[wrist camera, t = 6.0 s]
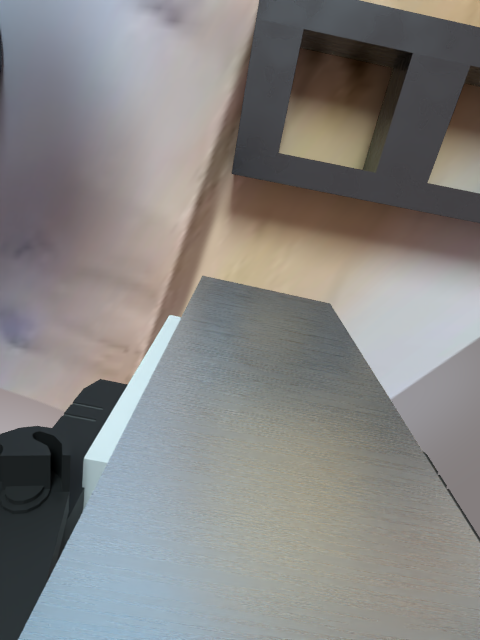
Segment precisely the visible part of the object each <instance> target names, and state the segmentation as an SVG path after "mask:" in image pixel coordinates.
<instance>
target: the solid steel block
mask: <svg viewBox="0 0 480 640" xmlns="http://www.w3.org/2000/svg"><path fill="white" fill-rule="evenodd" d="M18 640H480V542H479V540H478V539H477V537H476V535H475V534H474V532H473V531H472V529H471V527H470V526H469V524H468V523H467V521H466V519H465V518H464V516H463V515H462V513H461V511H460V510H459V508H458V507H457V505H456V504H455V502H454V500H453V499H452V497H451V496H450V494H449V492H448V491H447V489H446V488H445V486H444V484H443V483H442V481H441V480H440V478H439V476H438V475H437V473H436V472H435V470H434V469H433V467H432V465H431V464H430V462H429V461H428V459H427V457H426V456H425V454H424V453H423V451H422V449H421V448H420V446H419V445H418V443H417V441H416V440H415V438H414V437H413V435H412V433H411V432H410V430H409V429H408V427H407V426H406V424H405V422H404V421H403V419H402V418H401V416H400V414H399V413H398V411H397V410H396V408H395V406H394V405H393V403H392V402H391V400H390V398H389V397H388V395H387V394H386V392H385V390H384V389H383V387H382V386H381V384H380V383H379V381H378V379H377V378H376V376H375V375H374V373H373V371H372V370H371V368H370V367H369V365H368V363H367V362H366V360H365V359H364V357H363V355H362V354H361V352H360V351H359V349H358V347H357V346H356V344H355V343H354V341H353V340H352V338H351V336H350V335H349V333H348V332H347V330H346V328H345V327H344V325H343V324H342V322H341V320H340V319H339V317H338V316H337V314H336V312H335V311H334V309H333V308H332V306H331V304H330V303H325V302H321V301H316V300H311V299H307V298H302V297H298V296H293V295H289V294H284V293H279V292H275V291H270V290H266V289H261V288H257V287H252V286H247V285H243V284H238V283H234V282H229V281H224V280H220V279H215V278H211V277H206V276H202V278H201V280H200V282H199V284H198V286H197V288H196V290H195V292H194V293H193V295H192V297H191V299H190V301H189V303H188V305H187V307H186V309H185V311H184V313H183V315H182V317H181V319H180V321H179V323H178V325H177V327H176V329H175V331H174V333H173V335H172V337H171V339H170V341H169V343H168V345H167V347H166V349H165V351H164V353H163V355H162V357H161V359H160V361H159V363H158V364H157V366H156V368H155V370H154V372H153V374H152V376H151V378H150V380H149V382H148V384H147V386H146V388H145V390H144V392H143V394H142V396H141V398H140V400H139V402H138V404H137V406H136V408H135V410H134V412H133V414H132V416H131V418H130V420H129V422H128V424H127V426H126V428H125V430H124V432H123V434H122V436H121V437H120V439H119V441H118V443H117V445H116V447H115V449H114V451H113V453H112V455H111V457H110V459H109V461H108V463H107V465H106V467H105V469H104V471H103V473H102V475H101V477H100V479H99V481H98V483H97V485H96V487H95V489H94V491H93V493H92V495H91V497H90V499H89V501H88V503H87V505H86V507H85V508H84V510H83V512H82V514H81V516H80V518H79V520H78V522H77V524H76V526H75V528H74V530H73V532H72V534H71V536H70V538H69V540H68V542H67V544H66V546H65V548H64V550H63V552H62V554H61V556H60V558H59V560H58V562H57V564H56V566H55V568H54V570H53V572H52V574H51V576H50V578H49V579H48V581H47V583H46V585H45V587H44V589H43V591H42V593H41V595H40V597H39V599H38V601H37V603H36V605H35V607H34V609H33V611H32V613H31V615H30V617H29V619H28V621H27V623H26V625H25V627H24V629H23V631H22V633H21V635H20V637H19V639H18Z"/></svg>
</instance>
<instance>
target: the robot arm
mask: <svg viewBox="0 0 480 640" xmlns="http://www.w3.org/2000/svg"><path fill="white" fill-rule="evenodd" d="M0 72H1V40H0ZM180 319H181V317H177V316H172V315H169V317H168V319H167V320H166V322H165V324H164V325H163V327H162V329H161V330H160V332H159V334H158V335H157V337H156V339H155V340H154V342H153V344H152V345H151V347H150V349H149V350H148V352H147V354H146V355H145V357H144V359H143V360H142V362H141V364H140V365H139V367H138V369H137V370H136V372H135V374H134V375H133V377H132V379H131V380H130V382H129V384H128V385H127V384H122V383H117V382H112V381H107V380H102V379H100V380H98V381H96V382H95V383H93V384H91V385H89V386H88V387H86V388H84V389H83V390H82V392H81V393H80V394H79V395H78V397H77V398H76V399H75V400H74V402H73V404H72V405H70V407H69V408H68V409H67V410H66V412H65V413H64V416H62V417H61V418H60V419H59V420H58V422H57V423H56V424H55V425H54V427H53V428H47V427H40V426H33V427H23V428H18V429H15V430H11V431H8V432H5V433H2V434H0V640H18V639H19V637H20V635H21V633H22V631H23V629H24V627H25V625H26V623H27V621H28V619H29V617H30V615H31V613H32V611H33V609H34V607H35V605H36V603H37V601H38V599H39V597H40V595H41V593H42V591H43V589H44V587H45V585H46V583H47V581H48V579H49V578H50V576H51V574H52V572H53V570H54V568H55V566H56V564H57V562H58V560H59V558H60V556H61V554H62V552H63V550H64V548H65V546H66V544H67V542H68V540H69V538H70V536H71V534H72V532H73V530H74V528H75V526H76V524H77V522H78V520H79V518H80V516H81V514H82V512H83V510H84V508H85V507H86V505H87V503H88V501H89V499H90V497H91V495H92V493H93V491H94V489H95V487H96V485H97V483H98V481H99V479H100V477H101V475H102V473H103V471H104V469H105V467H106V465H107V463H108V461H109V459H110V457H111V455H112V453H113V451H114V449H115V447H116V445H117V443H118V441H119V439H120V437H121V436H122V434H123V432H124V430H125V428H126V426H127V424H128V422H129V420H130V418H131V416H132V414H133V412H134V410H135V408H136V406H137V404H138V402H139V400H140V398H141V396H142V394H143V392H144V390H145V388H146V386H147V384H148V382H149V380H150V378H151V376H152V374H153V372H154V370H155V368H156V366H157V364H158V363H159V361H160V359H161V357H162V355H163V353H164V351H165V349H166V347H167V345H168V343H169V341H170V339H171V337H172V335H173V333H174V331H175V329H176V327H177V325H178V323H179V321H180ZM423 453H424V452H423ZM424 454H425V453H424ZM425 456H426V457H427V459H428V461H429V462H430V464H431V465H432V467H433V469H434V470H435V472H436V473H437V475H438V471H437V470H436V468H435V466H434V465H433V464H432V462H431V460H430V459H429V457H428V455H427V454H425ZM438 476H439V478H440V480H441V481H442V483H443V484H444V486H445V488H446V486H447V485H446V484H445V482H444V481H443V479H442V478H441V476H440V475H438ZM446 489H447V488H446ZM447 491H448V492H449V494H450V496H451V497H452V499H453V500H454V502H455V504H456V505H457V507H458V508H459V510H460V511H461V513H462V515H463V516H464V518H465V519H466V521H467V523H468V524H469V526H470V527H471V529H472V531H473V532H474V534H475V535H476V537H477V539H478V540H479V542H480V538H479V536H478V535H477V533H476V531H475V530H474V528H473V526H472V525H471V523H470V522H469V520H468V519H467V517H466V515H465V514H464V512H463V511H462V509H461V508H460V506H459V504H458V503H457V501H456V500H455V498H454V497H453V495H452V493H451V492H450V490H449V489H447Z"/></svg>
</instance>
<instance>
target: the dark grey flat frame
mask: <svg viewBox="0 0 480 640" xmlns="http://www.w3.org/2000/svg"><path fill="white" fill-rule="evenodd" d="M300 48H304V49H309V50H313V51H318V52H323V53H327V54H332V55H336V56H341V57H346V58H350V59H355V60H359V61H364V62H369V63H373V64H378V65H383V66H387V67H392V68H393V70H392V73H391V77H390V80H389V84H388V87H387V90H386V94H385V97H384V100H383V104H382V107H381V111H380V114H379V117H378V121H377V124H376V127H375V131H374V134H373V138H372V141H371V144H370V148H369V151H368V155H367V158H366V161H365V165H364V168H363V170H359V169H354V168H350V167H345V166H340V165H335V164H330V163H325V162H320V161H315V160H310V159H305V158H300V157H295V156H290V155H285V154H280V153H278V152H279V148H280V143H281V138H282V133H283V128H284V123H285V118H286V113H287V108H288V103H289V98H290V94H291V89H292V84H293V79H294V74H295V69H296V64H297V59H298V54H299V49H300ZM464 83H466V84H470V85H475V86H480V27H475V26H471V25H466V24H462V23H457V22H453V21H448V20H444V19H439V18H435V17H431V16H426V15H422V14H417V13H413V12H408V11H404V10H399V9H395V8H390V7H386V6H382V5H377V4H373V3H368V2H364V1H359V0H259V6H258V12H257V18H256V25H255V31H254V37H253V44H252V50H251V56H250V62H249V69H248V75H247V81H246V87H245V94H244V100H243V106H242V113H241V119H240V125H239V131H238V138H237V144H236V150H235V157H234V163H233V169H232V174H235V175H240V176H245V177H250V178H255V179H260V180H265V181H270V182H276V183H281V184H286V185H291V186H296V187H301V188H306V189H311V190H316V191H321V192H326V193H331V194H336V195H341V196H346V197H351V198H356V199H361V200H366V201H371V202H376V203H382V204H387V205H392V206H397V207H402V208H407V209H412V210H417V211H422V212H427V213H432V214H437V215H442V216H447V217H452V218H457V219H462V220H467V221H472V222H477V223H480V194H478V193H473V192H468V191H463V190H458V189H453V188H449V187H444V186H439V185H434V184H429V183H427V182H428V180H429V177H430V174H431V171H432V169H433V166H434V163H435V161H436V158H437V155H438V152H439V150H440V147H441V144H442V142H443V139H444V136H445V133H446V131H447V128H448V125H449V123H450V120H451V117H452V114H453V112H454V109H455V106H456V104H457V101H458V98H459V95H460V93H461V90H462V87H463V85H464Z"/></svg>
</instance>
